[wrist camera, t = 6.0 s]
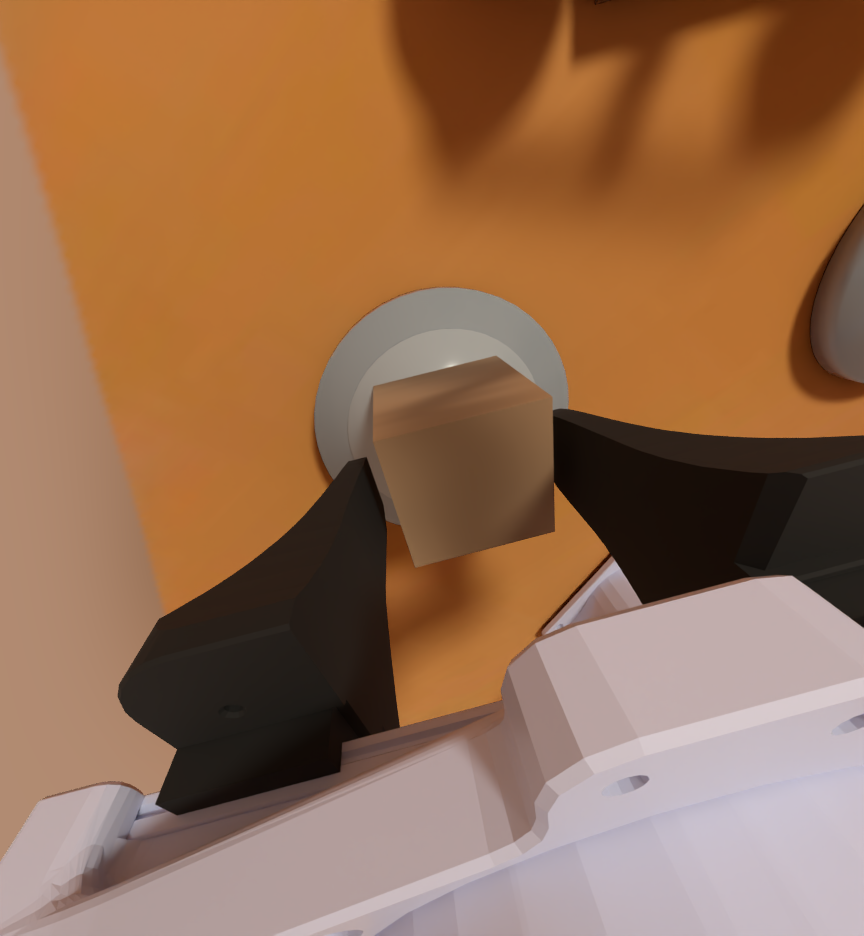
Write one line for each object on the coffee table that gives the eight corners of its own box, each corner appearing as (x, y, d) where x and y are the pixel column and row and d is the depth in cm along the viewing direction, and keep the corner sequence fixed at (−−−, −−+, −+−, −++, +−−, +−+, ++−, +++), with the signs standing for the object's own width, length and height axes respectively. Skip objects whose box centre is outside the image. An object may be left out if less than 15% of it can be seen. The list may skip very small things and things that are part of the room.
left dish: (482, 536, 18) (488, 551, 17) (287, 478, 15) (281, 493, 14) (604, 361, 14) (620, 368, 13) (374, 224, 11) (374, 221, 10)
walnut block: (496, 355, 12) (552, 396, 8) (507, 461, 14) (554, 531, 11) (373, 386, 12) (373, 441, 8) (404, 487, 14) (415, 567, 11)
